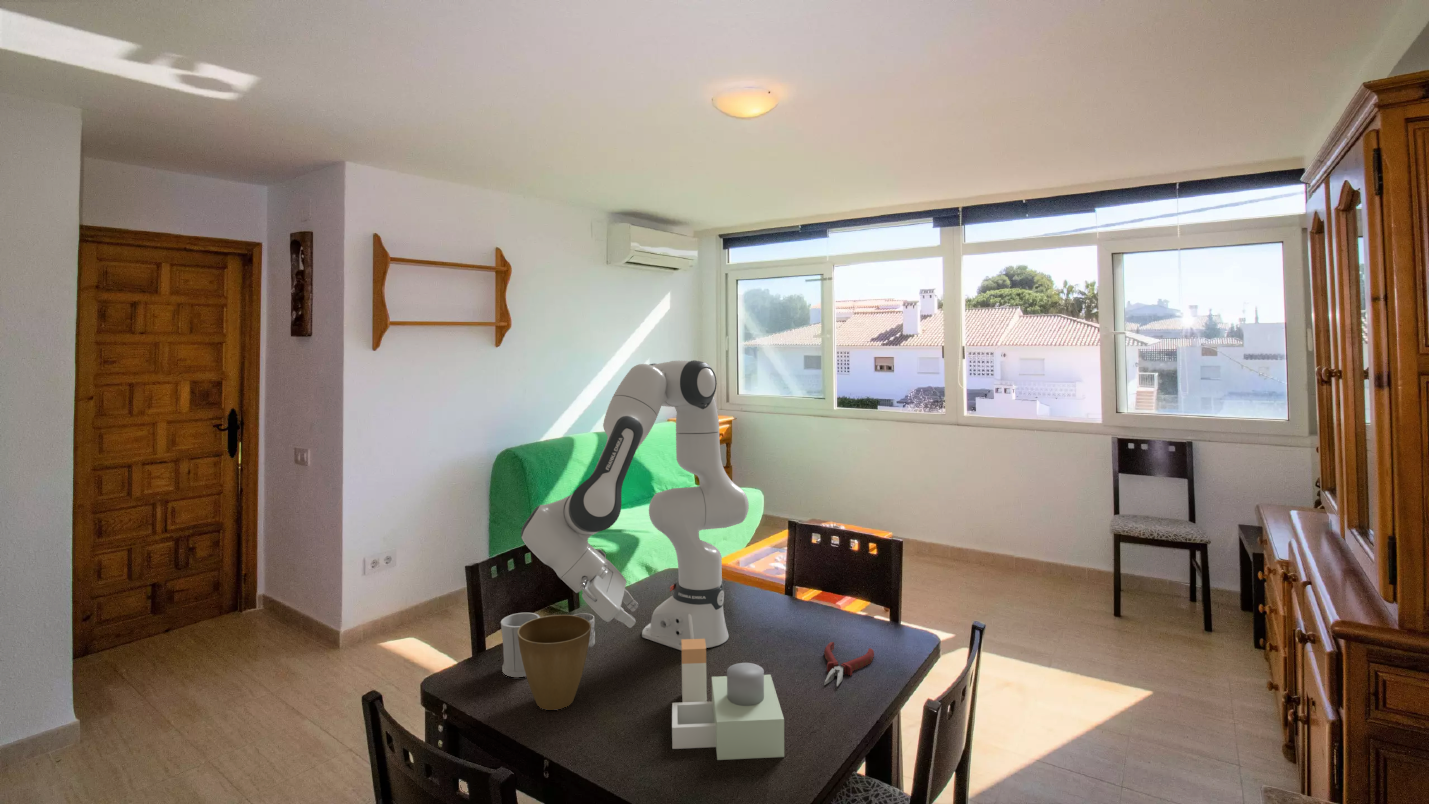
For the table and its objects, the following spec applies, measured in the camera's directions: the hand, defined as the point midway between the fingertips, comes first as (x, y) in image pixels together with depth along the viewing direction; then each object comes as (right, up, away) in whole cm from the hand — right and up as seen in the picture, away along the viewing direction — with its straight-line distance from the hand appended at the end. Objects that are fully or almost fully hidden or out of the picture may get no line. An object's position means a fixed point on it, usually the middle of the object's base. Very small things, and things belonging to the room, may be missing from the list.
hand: (634, 616), depth 138 cm
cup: (-27, -18, +16) cm, 36 cm away
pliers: (+45, -18, +17) cm, 51 cm away
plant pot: (-17, -19, +2) cm, 25 cm away
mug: (-18, -17, +32) cm, 40 cm away
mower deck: (+18, -19, -10) cm, 28 cm away
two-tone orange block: (+12, -18, +2) cm, 22 cm away
